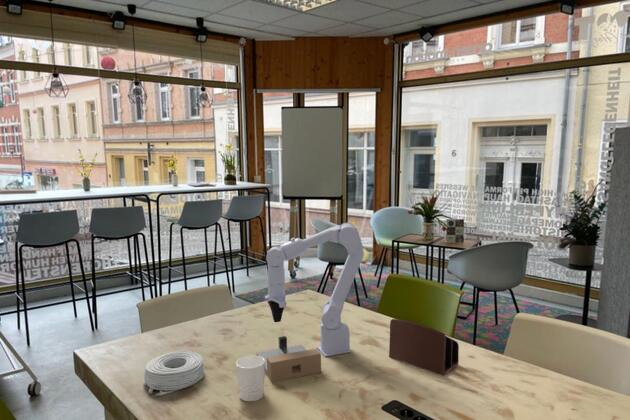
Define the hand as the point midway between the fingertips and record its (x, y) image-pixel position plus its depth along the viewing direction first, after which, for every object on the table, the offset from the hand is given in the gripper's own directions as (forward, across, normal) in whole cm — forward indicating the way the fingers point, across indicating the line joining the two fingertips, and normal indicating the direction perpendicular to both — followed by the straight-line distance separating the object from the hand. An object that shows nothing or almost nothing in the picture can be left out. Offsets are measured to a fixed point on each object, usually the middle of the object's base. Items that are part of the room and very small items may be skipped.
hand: (277, 321), depth 154 cm
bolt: (+9, +10, 0) cm, 13 cm away
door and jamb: (+10, +11, 0) cm, 15 cm away
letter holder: (+11, +25, +41) cm, 50 cm away
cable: (+11, +7, -34) cm, 37 cm away
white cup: (+11, +25, -15) cm, 31 cm away
